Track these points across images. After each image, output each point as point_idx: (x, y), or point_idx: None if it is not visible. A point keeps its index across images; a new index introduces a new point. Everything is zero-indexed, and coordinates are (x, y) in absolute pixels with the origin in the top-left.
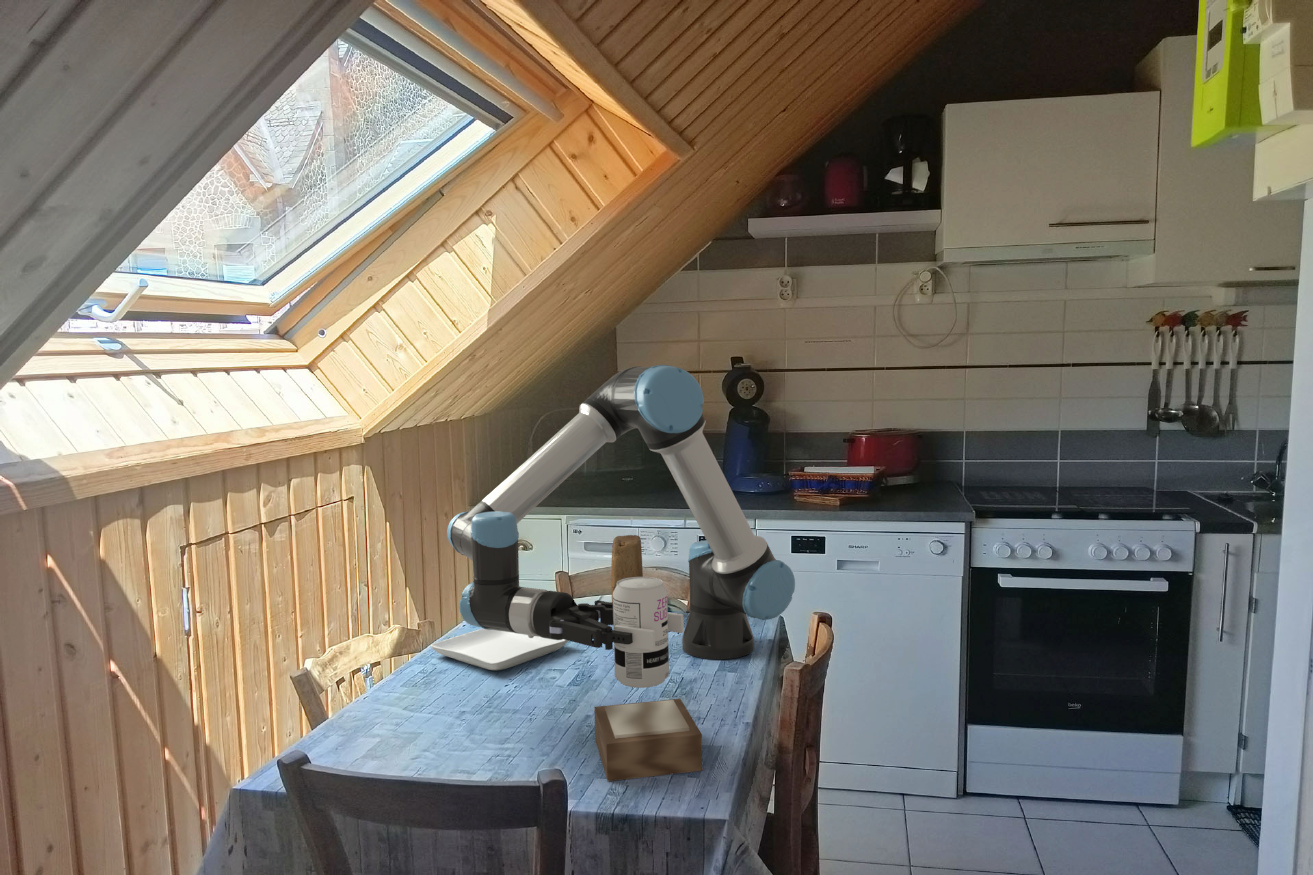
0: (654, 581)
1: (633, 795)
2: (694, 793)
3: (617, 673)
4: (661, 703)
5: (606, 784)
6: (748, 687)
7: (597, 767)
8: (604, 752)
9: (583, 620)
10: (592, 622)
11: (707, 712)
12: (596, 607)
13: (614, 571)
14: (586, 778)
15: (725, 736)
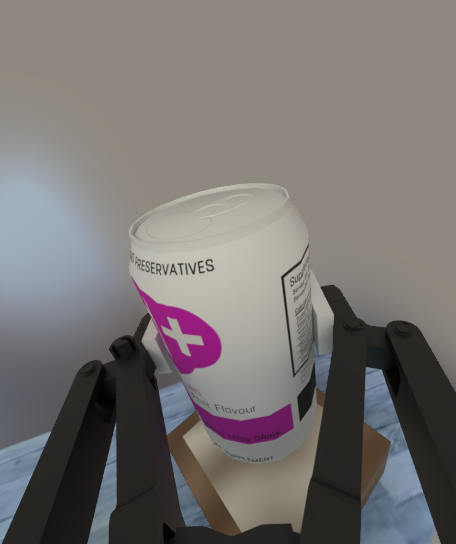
0: (173, 209)
1: (376, 411)
2: (317, 361)
3: (312, 417)
4: (203, 446)
5: (391, 467)
6: (12, 455)
7: (366, 529)
8: (372, 481)
9: (360, 487)
10: (355, 406)
11: (106, 465)
12: (158, 540)
13: None
14: (411, 519)
15: (180, 401)
